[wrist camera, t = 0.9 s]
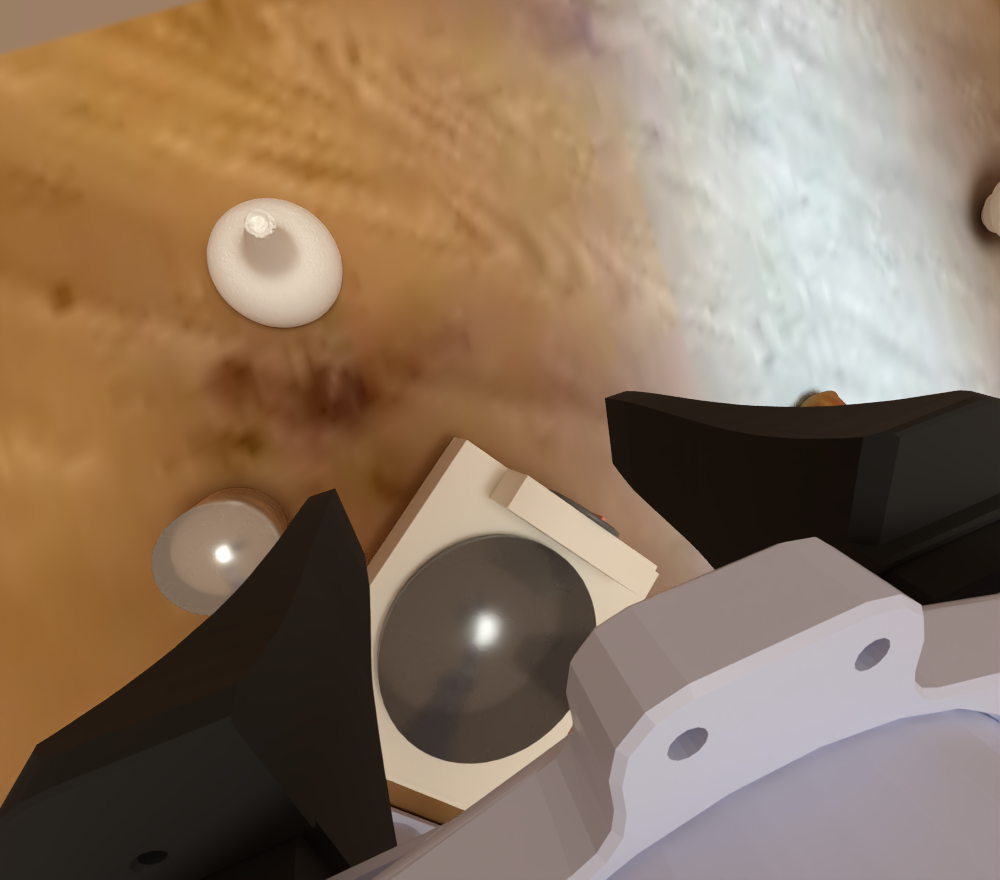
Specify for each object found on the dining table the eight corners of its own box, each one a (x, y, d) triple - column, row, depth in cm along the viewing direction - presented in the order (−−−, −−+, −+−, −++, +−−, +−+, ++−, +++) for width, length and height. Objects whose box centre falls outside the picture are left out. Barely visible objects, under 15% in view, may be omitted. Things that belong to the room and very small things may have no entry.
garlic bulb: (275, 193, 26) (236, 91, 19) (367, 274, 28) (367, 210, 20) (192, 276, 25) (114, 205, 18) (292, 356, 27) (260, 323, 19)
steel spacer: (252, 593, 27) (236, 633, 22) (163, 550, 25) (125, 582, 20) (306, 516, 27) (301, 539, 23) (222, 469, 26) (198, 483, 21)
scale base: (496, 792, 32) (535, 882, 26) (278, 699, 27) (262, 783, 21) (635, 555, 35) (700, 586, 29) (457, 430, 30) (490, 436, 24)
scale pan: (516, 785, 29) (521, 795, 28) (326, 702, 25) (326, 711, 24) (625, 597, 31) (632, 602, 30) (464, 492, 27) (468, 494, 26)
